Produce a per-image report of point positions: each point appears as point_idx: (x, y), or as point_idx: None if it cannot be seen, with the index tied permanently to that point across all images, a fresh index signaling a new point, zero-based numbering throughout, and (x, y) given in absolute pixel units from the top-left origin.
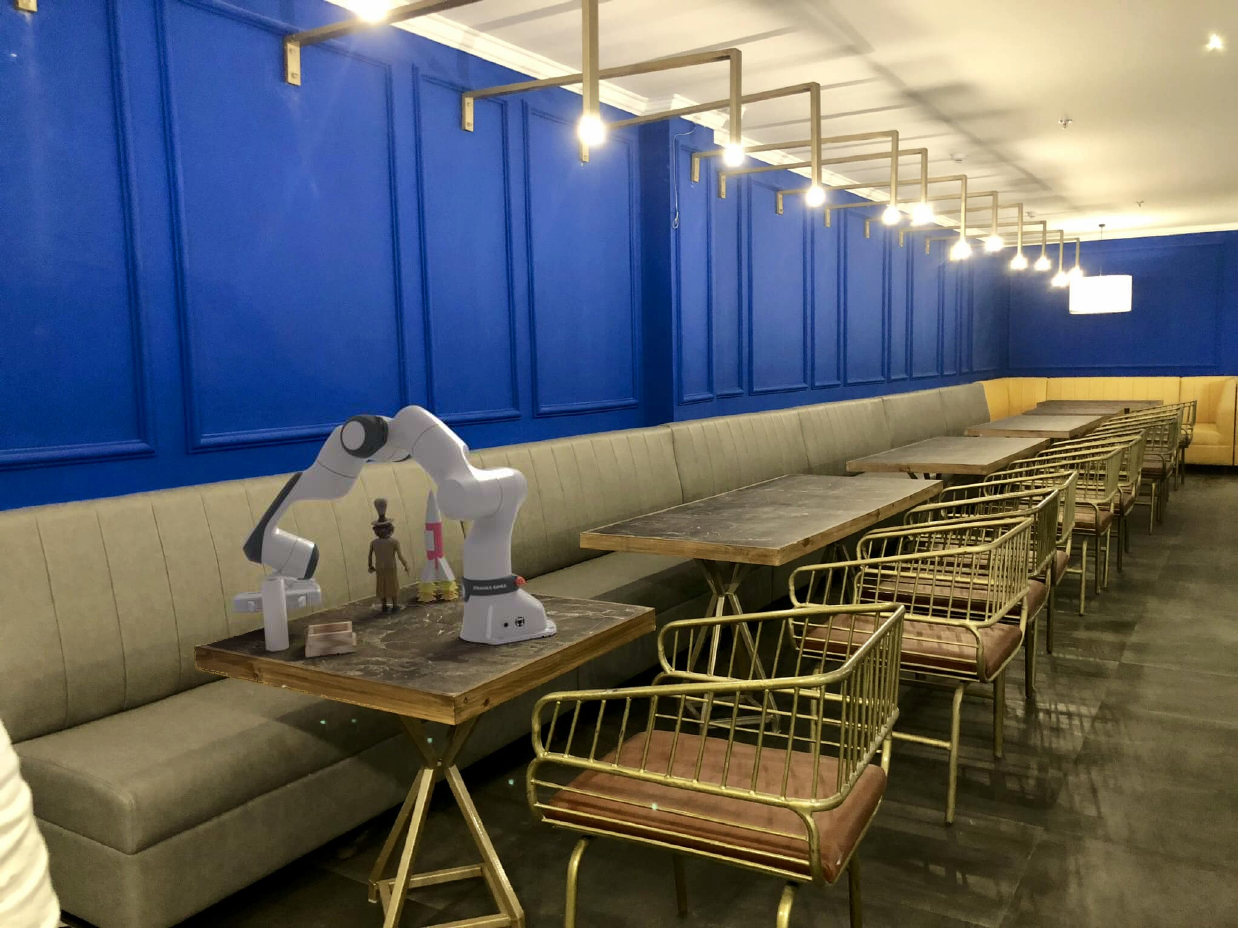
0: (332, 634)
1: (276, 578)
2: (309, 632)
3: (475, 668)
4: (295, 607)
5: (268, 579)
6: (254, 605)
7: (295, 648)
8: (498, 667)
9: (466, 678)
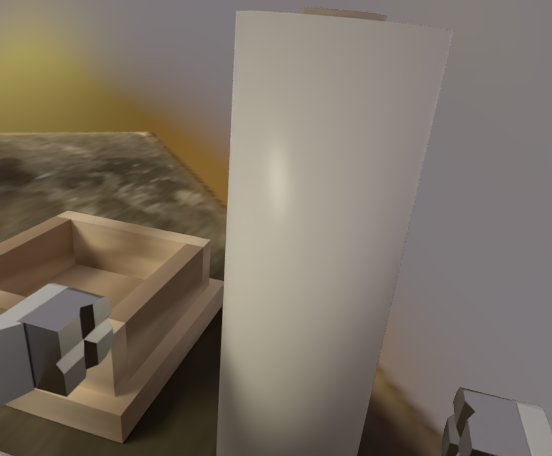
0: (129, 226)
1: (305, 10)
2: (181, 263)
3: (36, 147)
4: (105, 340)
5: (379, 16)
6: (502, 399)
7: (206, 413)
8: (13, 139)
9: (85, 140)
